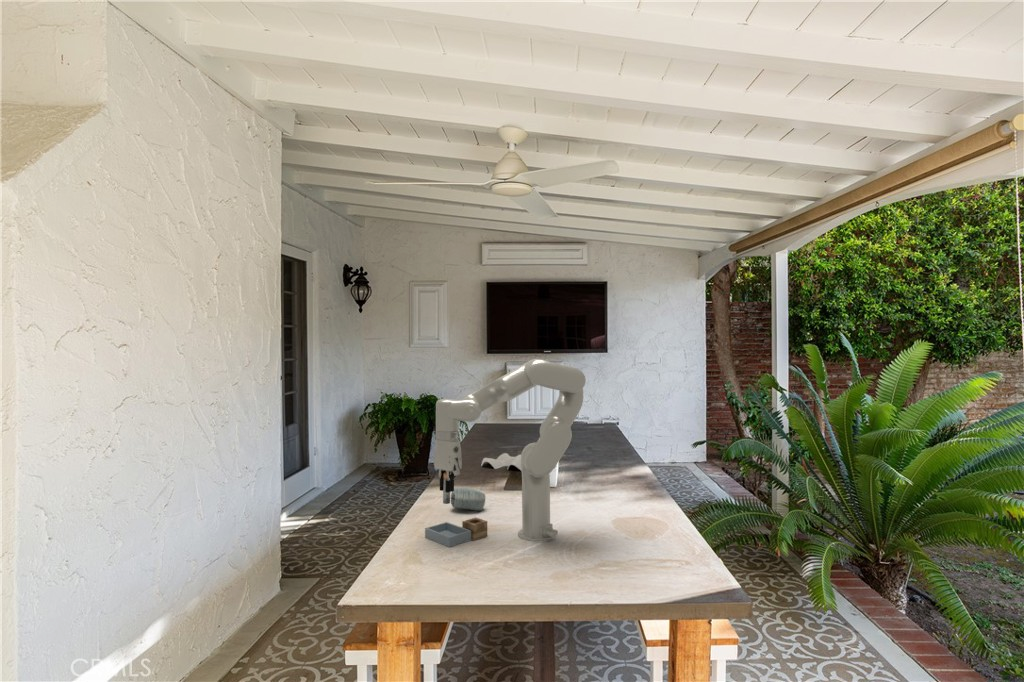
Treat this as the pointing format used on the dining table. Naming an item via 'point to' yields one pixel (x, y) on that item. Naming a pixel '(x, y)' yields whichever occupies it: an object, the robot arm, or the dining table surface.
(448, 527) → the tray
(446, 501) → the lock pin
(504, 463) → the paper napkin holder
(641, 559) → the dining table surface
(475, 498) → the spool
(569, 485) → the dining table surface
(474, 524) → the brown wooden socket block
